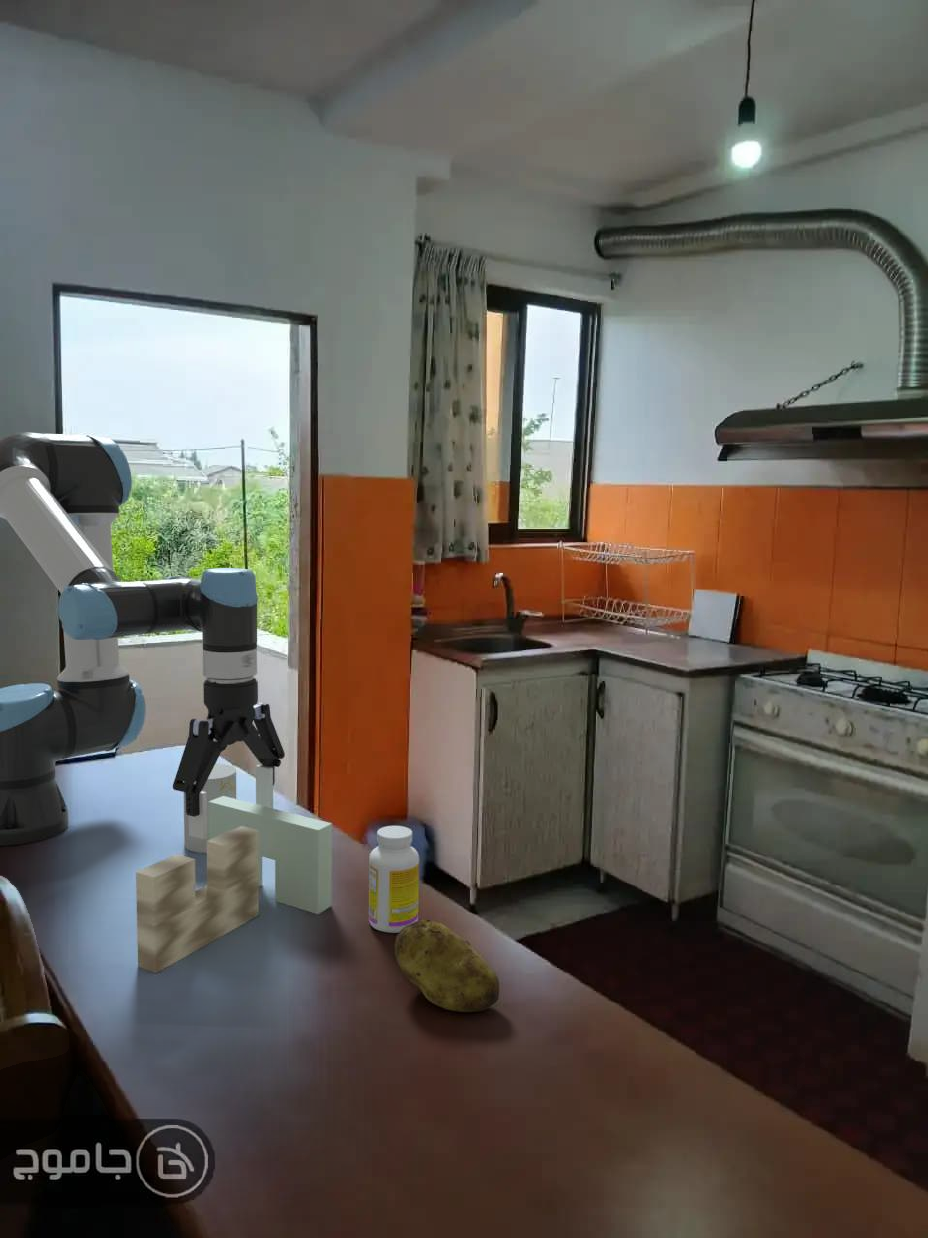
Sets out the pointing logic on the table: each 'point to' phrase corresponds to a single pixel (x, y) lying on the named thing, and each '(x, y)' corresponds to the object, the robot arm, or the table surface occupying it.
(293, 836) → the sage slat
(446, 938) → the potato
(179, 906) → the notched wooden block
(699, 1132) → the table surface
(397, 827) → the supplement bottle
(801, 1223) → the table surface
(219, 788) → the grey cylinder
